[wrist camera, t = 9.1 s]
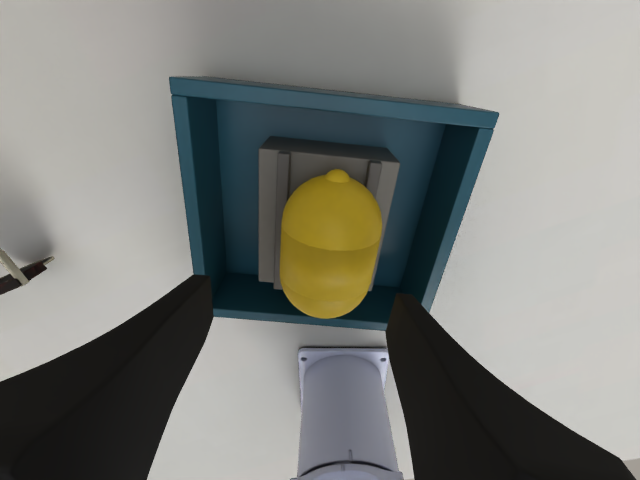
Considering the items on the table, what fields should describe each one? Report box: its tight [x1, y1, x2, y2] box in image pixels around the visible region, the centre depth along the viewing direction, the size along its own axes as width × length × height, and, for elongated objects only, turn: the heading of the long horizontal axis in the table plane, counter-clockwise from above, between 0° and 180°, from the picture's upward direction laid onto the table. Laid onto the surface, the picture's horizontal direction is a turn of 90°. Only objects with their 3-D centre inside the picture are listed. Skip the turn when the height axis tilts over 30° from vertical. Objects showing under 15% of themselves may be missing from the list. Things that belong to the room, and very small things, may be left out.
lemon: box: [280, 169, 382, 319], centre depth 15 cm, size 8×5×5 cm, turn 174°
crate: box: [169, 76, 499, 331], centre depth 18 cm, size 13×14×5 cm
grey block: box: [259, 136, 400, 291], centre depth 18 cm, size 8×7×4 cm
